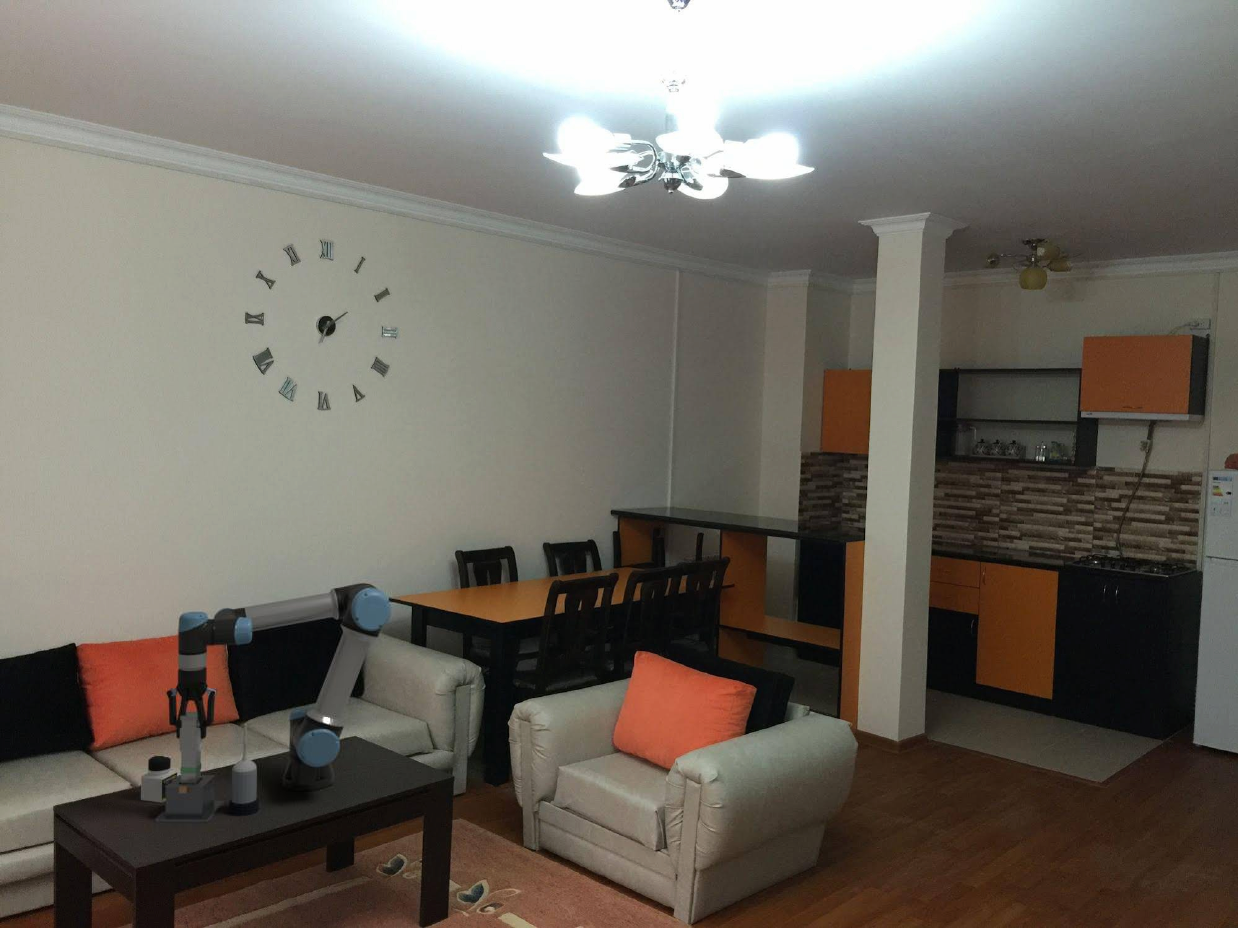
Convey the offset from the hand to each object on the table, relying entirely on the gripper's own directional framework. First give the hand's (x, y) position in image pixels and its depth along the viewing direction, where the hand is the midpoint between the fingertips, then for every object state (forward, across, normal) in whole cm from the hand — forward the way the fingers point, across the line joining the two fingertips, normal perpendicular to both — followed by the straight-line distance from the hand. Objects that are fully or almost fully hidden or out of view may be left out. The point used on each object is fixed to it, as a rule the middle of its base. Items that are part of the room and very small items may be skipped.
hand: (191, 749), depth 290 cm
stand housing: (+18, 0, 0) cm, 18 cm away
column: (+11, 0, 0) cm, 11 cm away
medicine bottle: (+18, +13, -12) cm, 25 cm away
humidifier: (+18, -14, -2) cm, 23 cm away
